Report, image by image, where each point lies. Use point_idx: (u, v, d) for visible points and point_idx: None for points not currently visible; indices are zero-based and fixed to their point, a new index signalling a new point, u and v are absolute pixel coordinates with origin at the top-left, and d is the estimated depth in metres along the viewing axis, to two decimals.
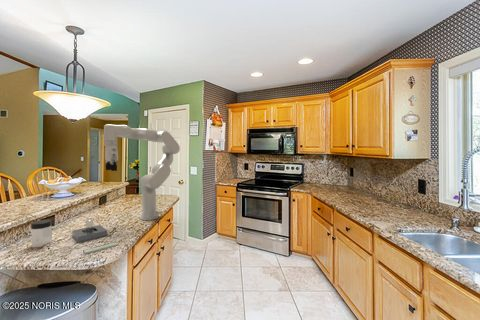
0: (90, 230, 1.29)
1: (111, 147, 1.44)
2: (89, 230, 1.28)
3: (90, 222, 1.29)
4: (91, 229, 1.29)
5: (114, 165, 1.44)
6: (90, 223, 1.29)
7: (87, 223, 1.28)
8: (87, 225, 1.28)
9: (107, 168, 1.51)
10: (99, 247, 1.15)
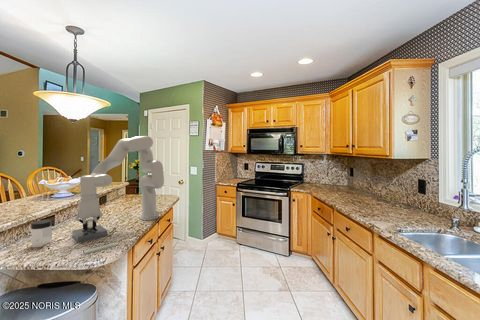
0: (90, 230, 1.29)
1: (98, 200, 1.32)
2: (89, 230, 1.28)
3: (90, 222, 1.29)
4: (91, 229, 1.29)
5: None
6: (90, 223, 1.29)
7: (87, 223, 1.28)
8: (87, 225, 1.28)
9: None
10: (99, 247, 1.15)
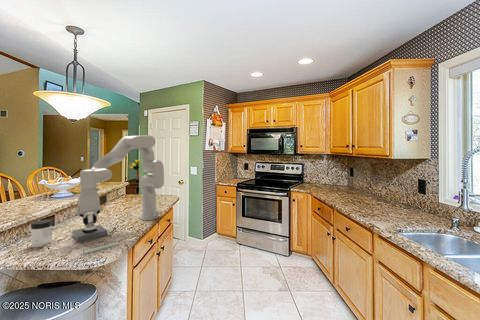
0: (90, 224, 1.29)
1: None
2: (89, 224, 1.28)
3: (90, 216, 1.29)
4: (91, 223, 1.29)
5: None
6: (91, 218, 1.29)
7: (87, 217, 1.28)
8: (87, 219, 1.28)
9: None
10: (99, 247, 1.15)
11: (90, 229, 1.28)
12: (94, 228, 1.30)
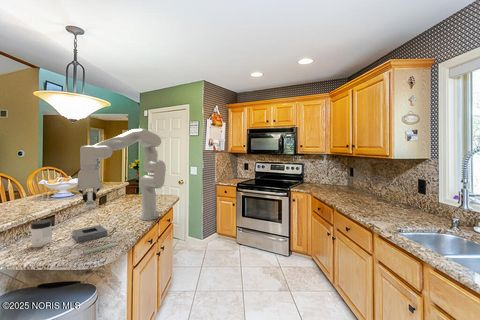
0: (90, 201, 1.27)
1: (98, 172, 1.30)
2: (89, 201, 1.26)
3: (90, 193, 1.27)
4: (91, 200, 1.27)
5: None
6: (90, 195, 1.27)
7: (87, 194, 1.26)
8: (87, 196, 1.26)
9: None
10: (99, 247, 1.15)
11: (89, 206, 1.26)
12: (94, 205, 1.28)
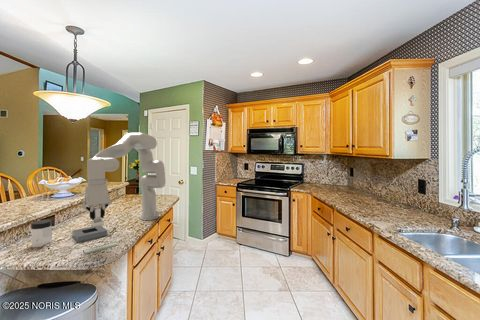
0: (98, 219, 1.16)
1: None
2: (97, 219, 1.16)
3: (98, 210, 1.16)
4: (99, 218, 1.17)
5: None
6: (98, 211, 1.16)
7: (95, 211, 1.16)
8: (94, 213, 1.16)
9: None
10: (99, 247, 1.15)
11: (97, 224, 1.15)
12: (102, 223, 1.17)
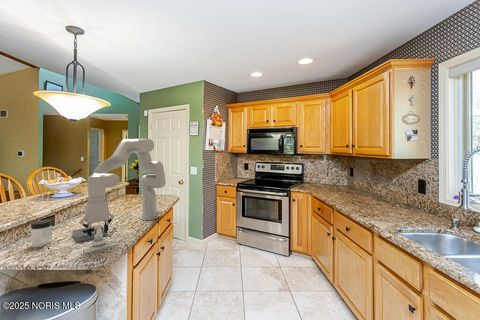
0: (99, 238, 1.17)
1: (107, 203, 1.20)
2: (98, 238, 1.17)
3: (99, 229, 1.17)
4: (100, 237, 1.17)
5: None
6: (99, 231, 1.17)
7: (96, 230, 1.16)
8: (96, 233, 1.16)
9: None
10: (99, 247, 1.15)
11: (98, 244, 1.16)
12: (103, 242, 1.18)
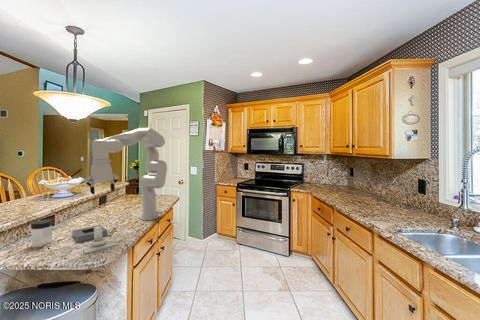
0: (98, 238, 1.17)
1: (110, 165, 1.31)
2: (97, 238, 1.17)
3: (98, 229, 1.17)
4: (100, 237, 1.17)
5: None
6: (99, 231, 1.17)
7: (95, 230, 1.16)
8: (95, 233, 1.16)
9: None
10: (99, 247, 1.15)
11: (98, 244, 1.16)
12: (102, 242, 1.18)
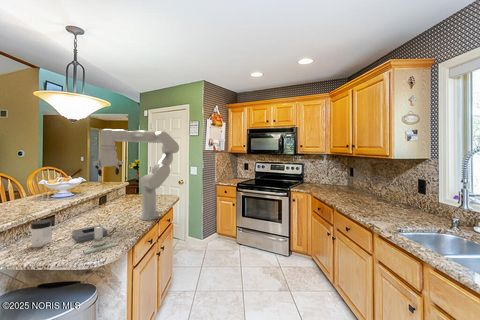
0: (98, 238, 1.17)
1: None
2: (97, 238, 1.16)
3: (99, 230, 1.16)
4: (100, 237, 1.17)
5: None
6: (99, 231, 1.17)
7: (95, 231, 1.16)
8: (95, 233, 1.16)
9: None
10: (99, 247, 1.15)
11: (98, 244, 1.16)
12: (102, 243, 1.17)
